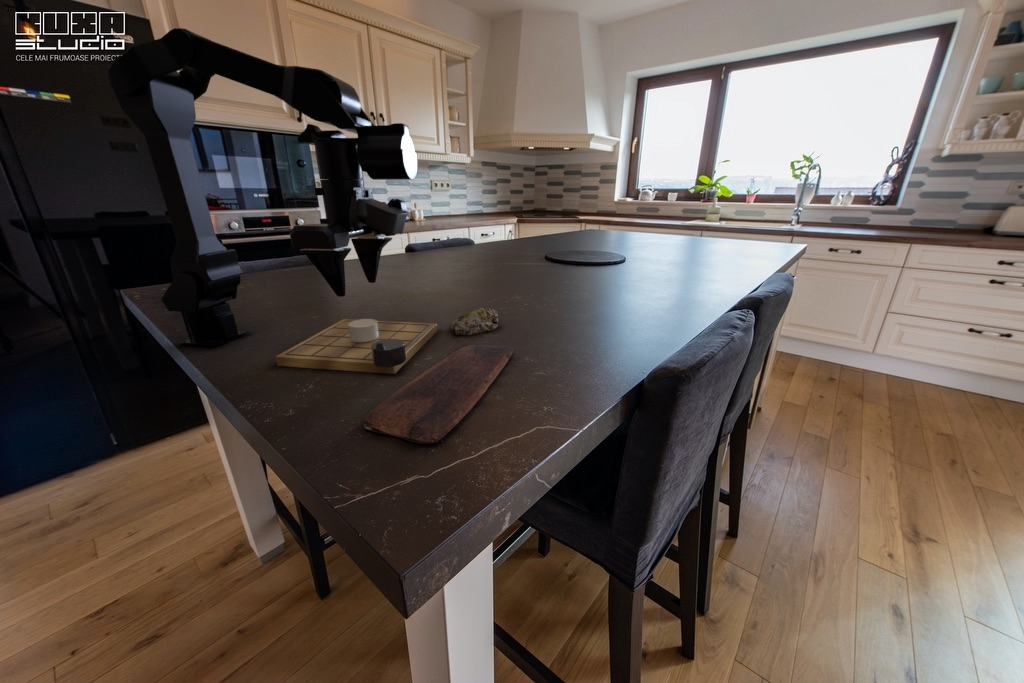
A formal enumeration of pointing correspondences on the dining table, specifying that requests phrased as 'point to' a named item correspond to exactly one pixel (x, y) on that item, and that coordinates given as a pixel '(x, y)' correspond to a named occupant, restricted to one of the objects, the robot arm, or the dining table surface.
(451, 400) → the wooden tablet
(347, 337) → the game board
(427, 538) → the dining table surface
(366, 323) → the cream stone
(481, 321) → the mineral rock
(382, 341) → the black stone
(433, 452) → the dining table surface
